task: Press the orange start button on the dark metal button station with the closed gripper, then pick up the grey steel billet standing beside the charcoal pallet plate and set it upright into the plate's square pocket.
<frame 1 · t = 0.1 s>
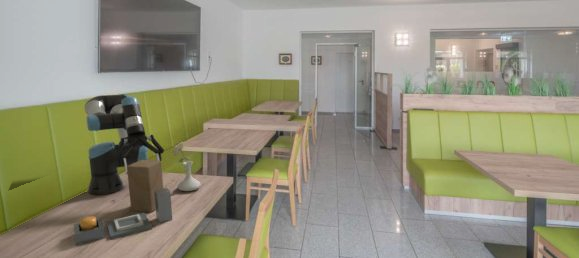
hand: (143, 170, 147), 15 cm above the table, fingers open, 13 cm apart
steel billet: (164, 218, 135), on the table
flower in vase: (188, 189, 167), on the table
wooden block: (148, 207, 146), on the table
start button: (88, 223, 120), point 5 cm above the table, slide at 0.0 cm
button station: (90, 235, 121), on the table
pallet plate: (129, 226, 128), on the table
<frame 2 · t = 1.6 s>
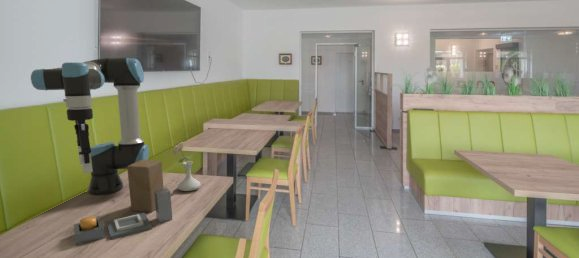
hand: (85, 167, 118), 26 cm above the table, fingers open, 13 cm apart
nothing on the table moved.
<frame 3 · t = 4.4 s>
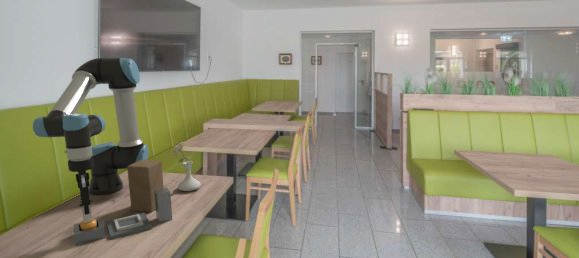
hand: (87, 221, 120), 6 cm above the table, fingers closed
start button: (88, 225, 120), point 4 cm above the table, slide at 0.9 cm, touching gripper
everything else where it was.
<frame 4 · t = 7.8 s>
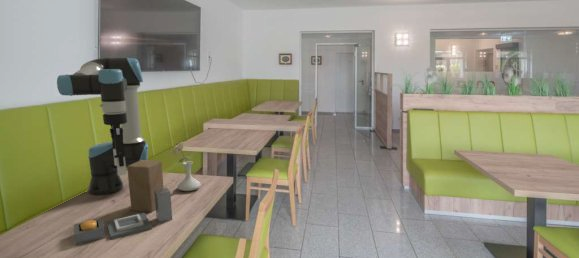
hand: (120, 169, 123), 23 cm above the table, fingers open, 13 cm apart
start button: (88, 227, 121), point 4 cm above the table, slide at 1.5 cm
everything else where it was.
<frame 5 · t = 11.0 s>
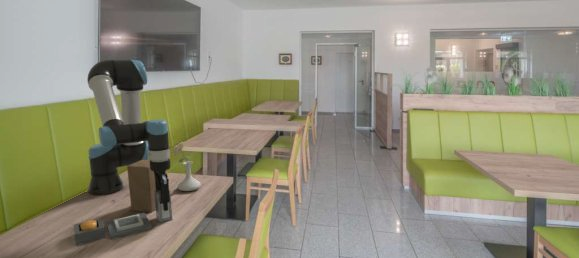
hand: (164, 214, 134), 2 cm above the table, fingers closed on steel billet, 5 cm apart
steel billet: (164, 218, 135), on the table, touching gripper
everything else where it was.
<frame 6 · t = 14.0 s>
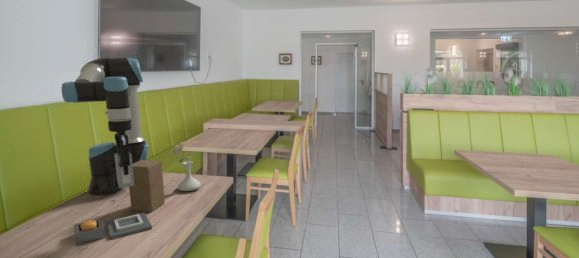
hand: (125, 180, 125), 19 cm above the table, fingers closed on steel billet, 5 cm apart
steel billet: (126, 184, 125), point 17 cm above the table, touching gripper
everything else where it was.
when the fingers open (4 cm above the table, at t = 17.1 s): steel billet drops 1 cm, resting on pallet plate.
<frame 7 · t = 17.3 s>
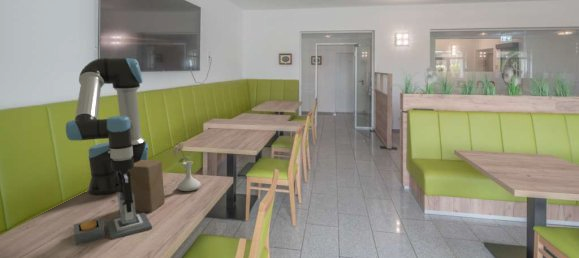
hand: (127, 215, 127), 5 cm above the table, fingers open, 8 cm apart
steel billet: (128, 223, 128), point 1 cm above the table, touching pallet plate
everything else where it was.
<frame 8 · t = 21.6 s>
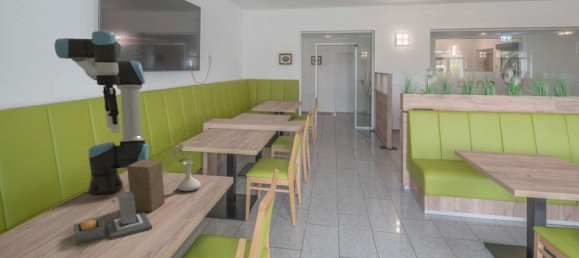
hand: (113, 130, 128), 37 cm above the table, fingers open, 13 cm apart
nothing on the table moved.
at the end: start button slide at 1.5 cm; steel billet 0.1 cm off-centre on the pallet plate, point 1.2 cm above the pallet plate's base; steel billet tilted 0° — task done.
